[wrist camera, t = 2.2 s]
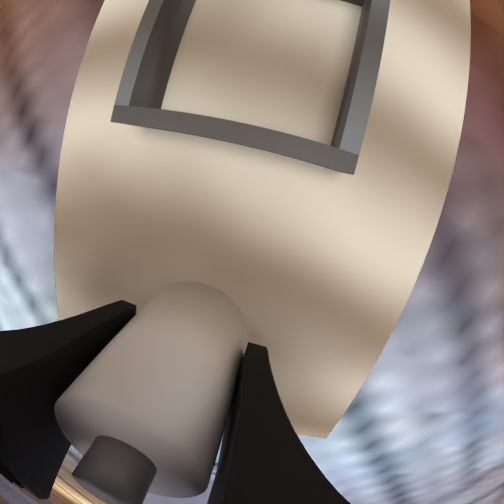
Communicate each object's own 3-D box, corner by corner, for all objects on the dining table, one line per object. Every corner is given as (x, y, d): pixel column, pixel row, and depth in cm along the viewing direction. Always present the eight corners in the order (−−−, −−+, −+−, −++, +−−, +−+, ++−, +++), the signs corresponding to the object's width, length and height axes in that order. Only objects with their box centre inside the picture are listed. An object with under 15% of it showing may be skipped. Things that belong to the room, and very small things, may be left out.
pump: (176, 377, 12) (103, 515, 5) (130, 296, 11) (3, 420, 4) (264, 361, 11) (228, 541, 4) (222, 267, 10) (109, 445, 3)
